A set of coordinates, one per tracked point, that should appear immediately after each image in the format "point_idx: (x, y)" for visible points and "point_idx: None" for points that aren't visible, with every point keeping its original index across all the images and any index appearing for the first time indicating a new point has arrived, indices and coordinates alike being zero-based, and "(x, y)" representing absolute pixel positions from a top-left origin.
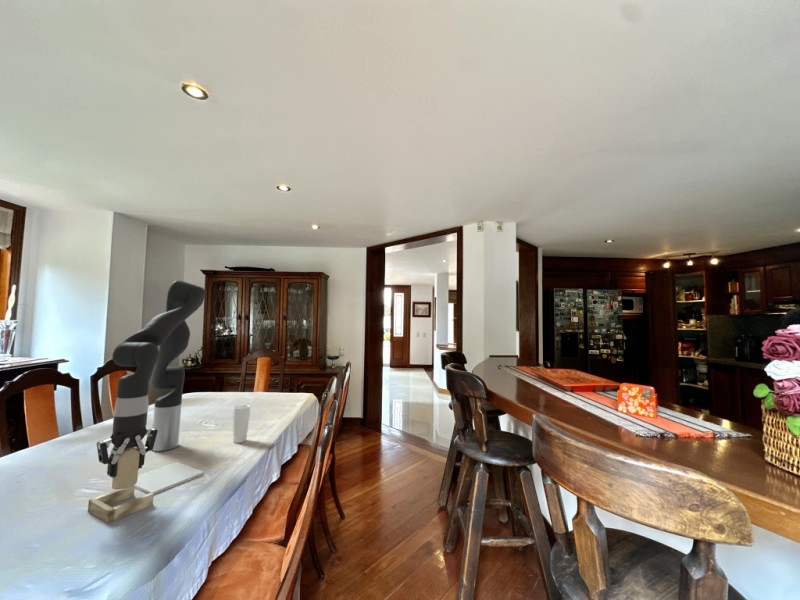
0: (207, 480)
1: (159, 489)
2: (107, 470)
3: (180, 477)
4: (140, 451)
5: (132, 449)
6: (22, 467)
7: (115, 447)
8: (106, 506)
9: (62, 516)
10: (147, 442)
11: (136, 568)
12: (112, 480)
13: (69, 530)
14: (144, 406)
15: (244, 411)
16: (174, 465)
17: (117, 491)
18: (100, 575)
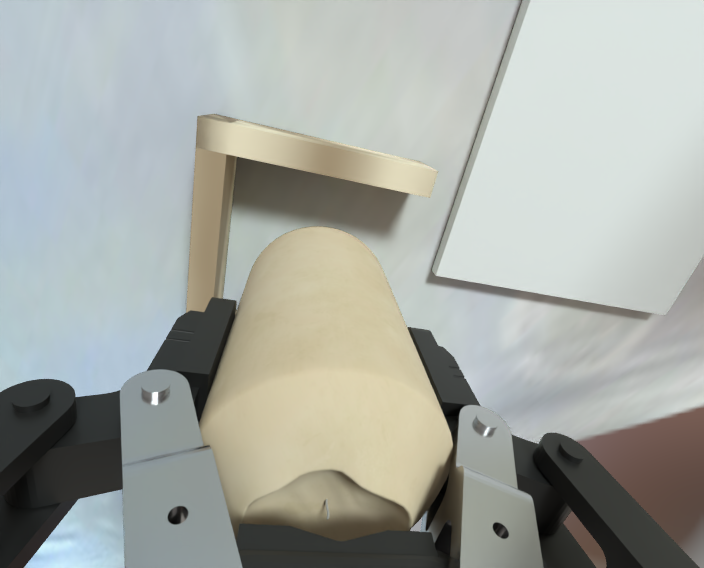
0: (590, 368)
1: (470, 280)
2: (169, 337)
3: (603, 262)
4: (425, 518)
5: (385, 514)
6: None
7: (162, 554)
8: (204, 295)
9: (115, 17)
10: (601, 530)
11: (120, 565)
12: (249, 277)
13: (84, 223)
14: None
15: None
16: None
17: (339, 177)
18: (54, 530)
